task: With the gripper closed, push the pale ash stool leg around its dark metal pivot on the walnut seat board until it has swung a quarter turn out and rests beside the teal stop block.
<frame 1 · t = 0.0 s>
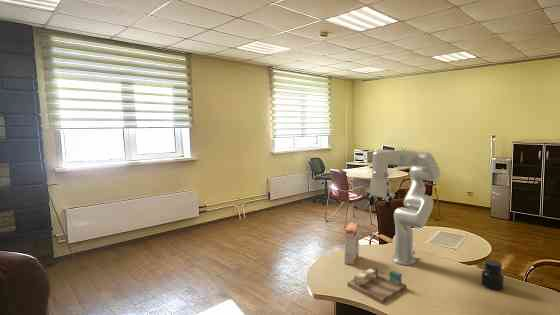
hand: (379, 206, 164), 37 cm above the table, tool pointing down, fingers open, 9 cm apart
ink bottle: (492, 286, 153), on the table
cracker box: (351, 260, 185), on the table
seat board: (376, 287, 154), on the table
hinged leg: (366, 276, 157), point 4 cm above the table, hinge at 0.0°
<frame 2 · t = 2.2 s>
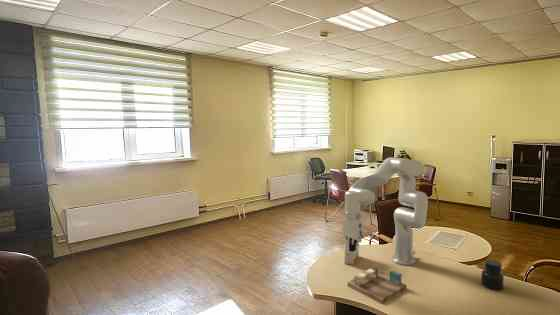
hand: (352, 250, 158), 17 cm above the table, tool pointing down, fingers closed
nothing on the table moved.
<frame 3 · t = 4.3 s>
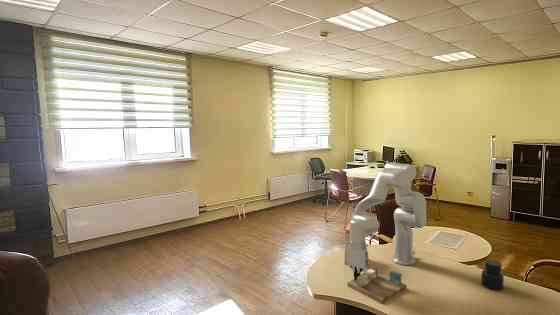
hand: (357, 279, 156), 3 cm above the table, tool pointing down, fingers closed
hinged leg: (368, 276, 156), point 4 cm above the table, hinge at 6.6°, touching gripper
everything else where it was.
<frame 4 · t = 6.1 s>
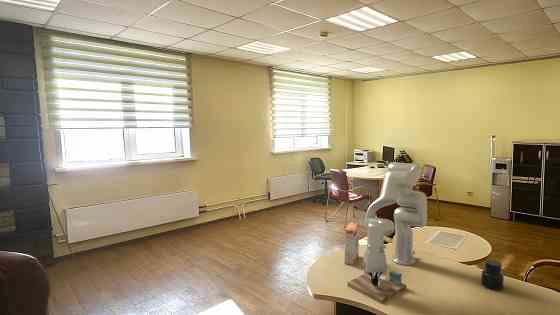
hand: (374, 284, 150), 3 cm above the table, tool pointing down, fingers closed
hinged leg: (379, 278, 154), point 4 cm above the table, hinge at 58.2°, touching gripper
everything else where it was.
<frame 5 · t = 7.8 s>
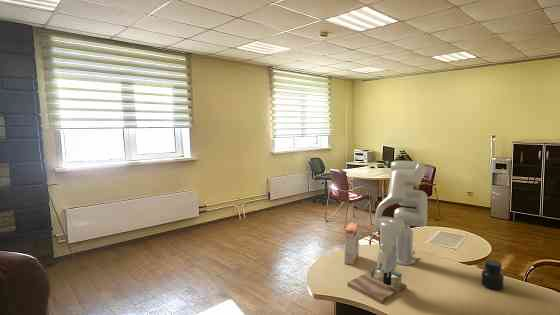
hand: (387, 284, 150), 3 cm above the table, tool pointing down, fingers closed
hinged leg: (384, 276, 156), point 4 cm above the table, hinge at 90.7°, touching gripper
everything else where it was.
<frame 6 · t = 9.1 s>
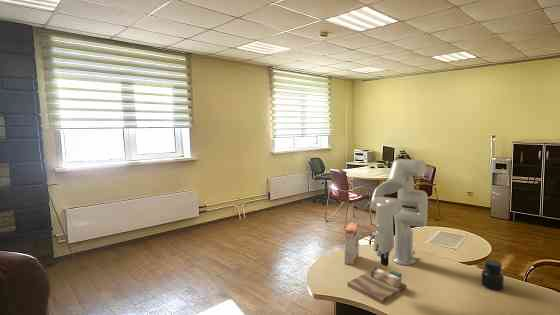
hand: (384, 264, 148), 14 cm above the table, tool pointing down, fingers closed
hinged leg: (384, 276, 156), point 4 cm above the table, hinge at 90.8°
everything else where it was.
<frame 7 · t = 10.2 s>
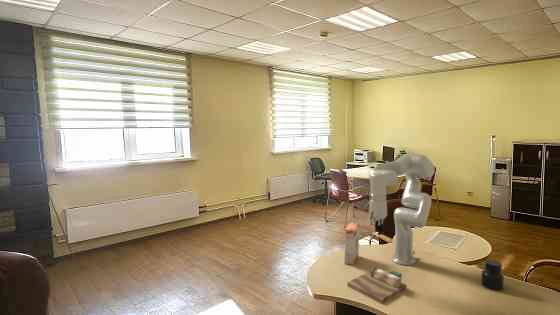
hand: (378, 231, 160), 25 cm above the table, tool pointing down, fingers closed
nothing on the table moved.
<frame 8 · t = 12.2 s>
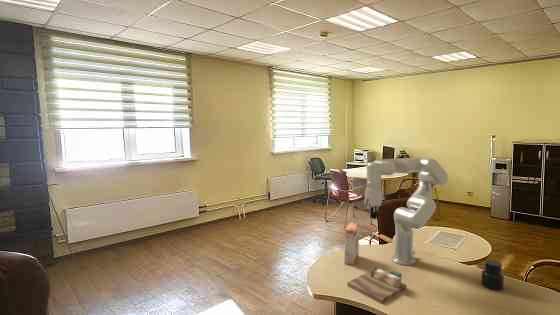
hand: (373, 218, 170), 29 cm above the table, tool pointing down, fingers closed
nothing on the table moved.
at the end: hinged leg at +91° (first picture: +0°); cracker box moved 0.2 cm from its start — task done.
